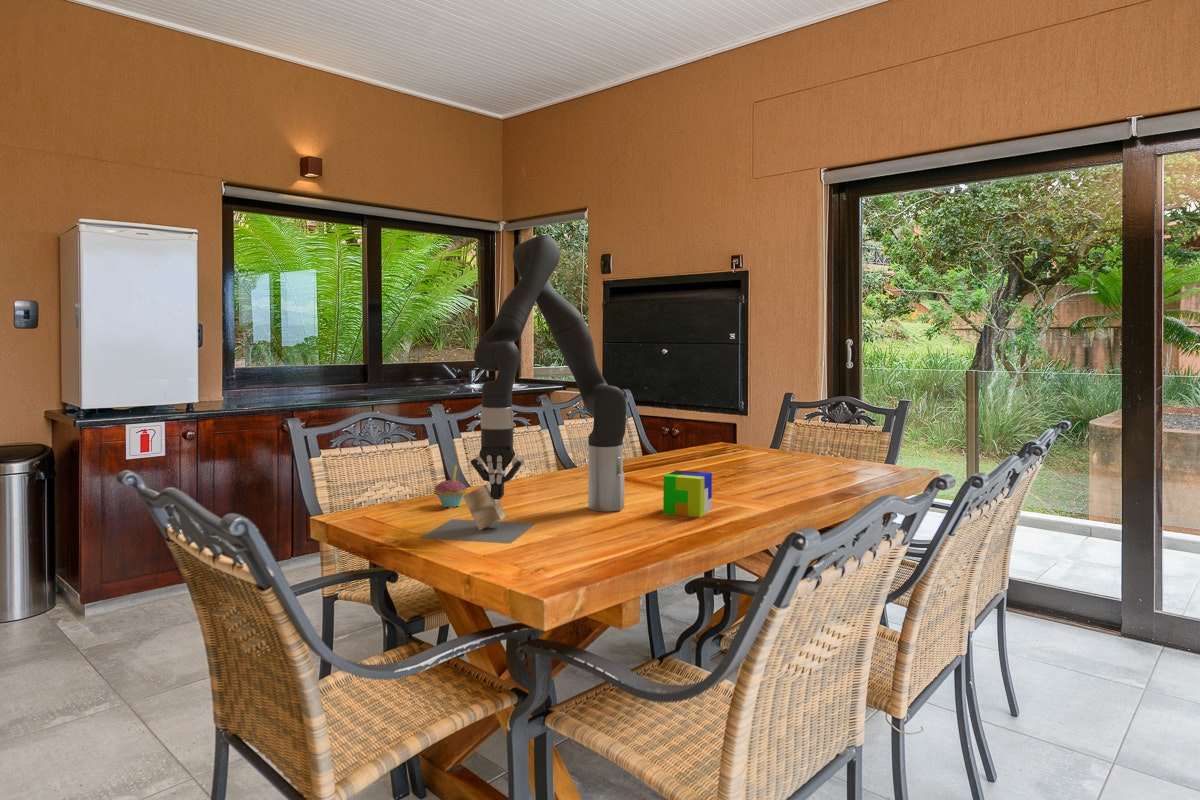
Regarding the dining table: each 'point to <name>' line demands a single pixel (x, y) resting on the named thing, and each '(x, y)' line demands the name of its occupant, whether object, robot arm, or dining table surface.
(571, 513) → the dining table surface
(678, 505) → the puzzle toy
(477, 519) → the block
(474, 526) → the mat
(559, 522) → the dining table surface
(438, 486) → the cupcake
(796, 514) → the dining table surface
